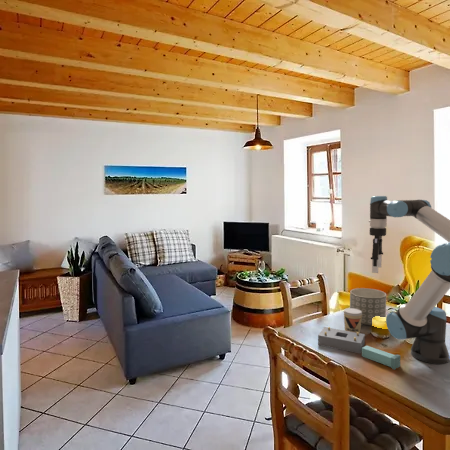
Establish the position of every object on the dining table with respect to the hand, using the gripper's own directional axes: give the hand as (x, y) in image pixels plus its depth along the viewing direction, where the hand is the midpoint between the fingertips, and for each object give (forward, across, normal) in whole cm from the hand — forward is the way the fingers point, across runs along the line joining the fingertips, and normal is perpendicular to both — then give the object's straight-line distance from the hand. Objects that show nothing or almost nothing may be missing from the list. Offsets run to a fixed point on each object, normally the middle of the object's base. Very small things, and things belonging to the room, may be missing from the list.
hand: (376, 269), depth 176 cm
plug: (+35, +18, -2) cm, 39 cm away
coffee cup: (+37, -6, -12) cm, 39 cm away
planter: (+37, -23, -7) cm, 44 cm away
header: (+37, +12, -14) cm, 41 cm away
